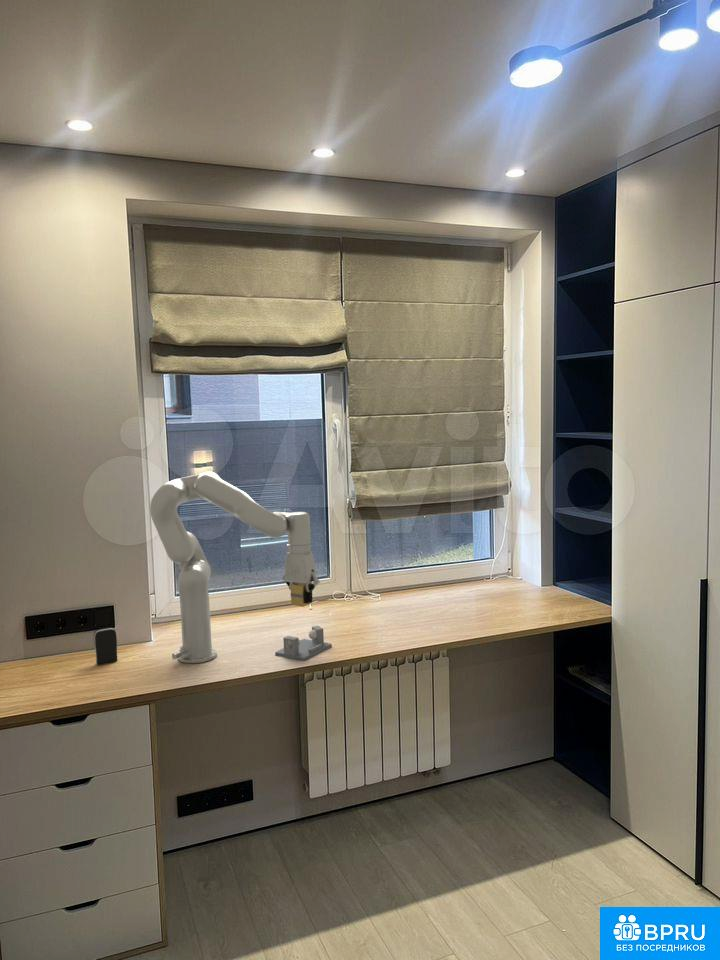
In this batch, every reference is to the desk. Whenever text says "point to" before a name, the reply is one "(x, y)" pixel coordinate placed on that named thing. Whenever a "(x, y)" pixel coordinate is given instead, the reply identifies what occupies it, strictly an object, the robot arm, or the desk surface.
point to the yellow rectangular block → (298, 595)
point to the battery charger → (105, 646)
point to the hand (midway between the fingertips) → (301, 601)
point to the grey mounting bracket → (304, 645)
